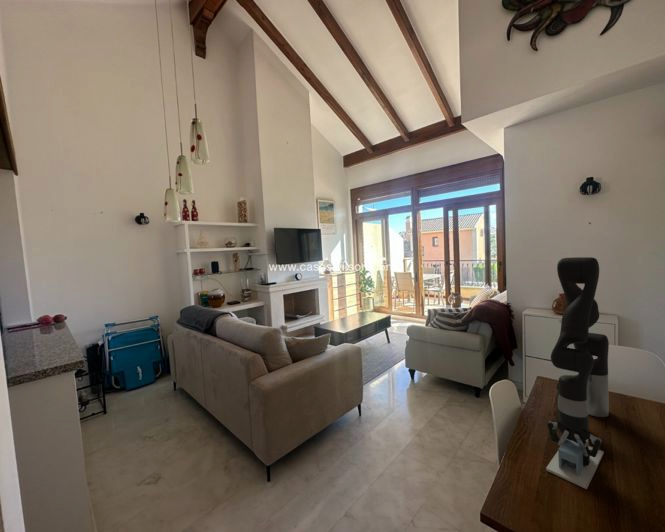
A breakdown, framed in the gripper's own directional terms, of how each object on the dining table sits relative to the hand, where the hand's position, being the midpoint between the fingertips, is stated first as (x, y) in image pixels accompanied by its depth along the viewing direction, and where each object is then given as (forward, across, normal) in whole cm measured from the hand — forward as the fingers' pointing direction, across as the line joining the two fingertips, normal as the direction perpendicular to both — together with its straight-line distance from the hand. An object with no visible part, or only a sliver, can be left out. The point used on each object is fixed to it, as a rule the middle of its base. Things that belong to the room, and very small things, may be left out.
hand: (573, 460), depth 96 cm
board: (+2, 0, -2) cm, 2 cm away
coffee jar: (+2, +6, -23) cm, 24 cm away
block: (+1, 0, 0) cm, 1 cm away
